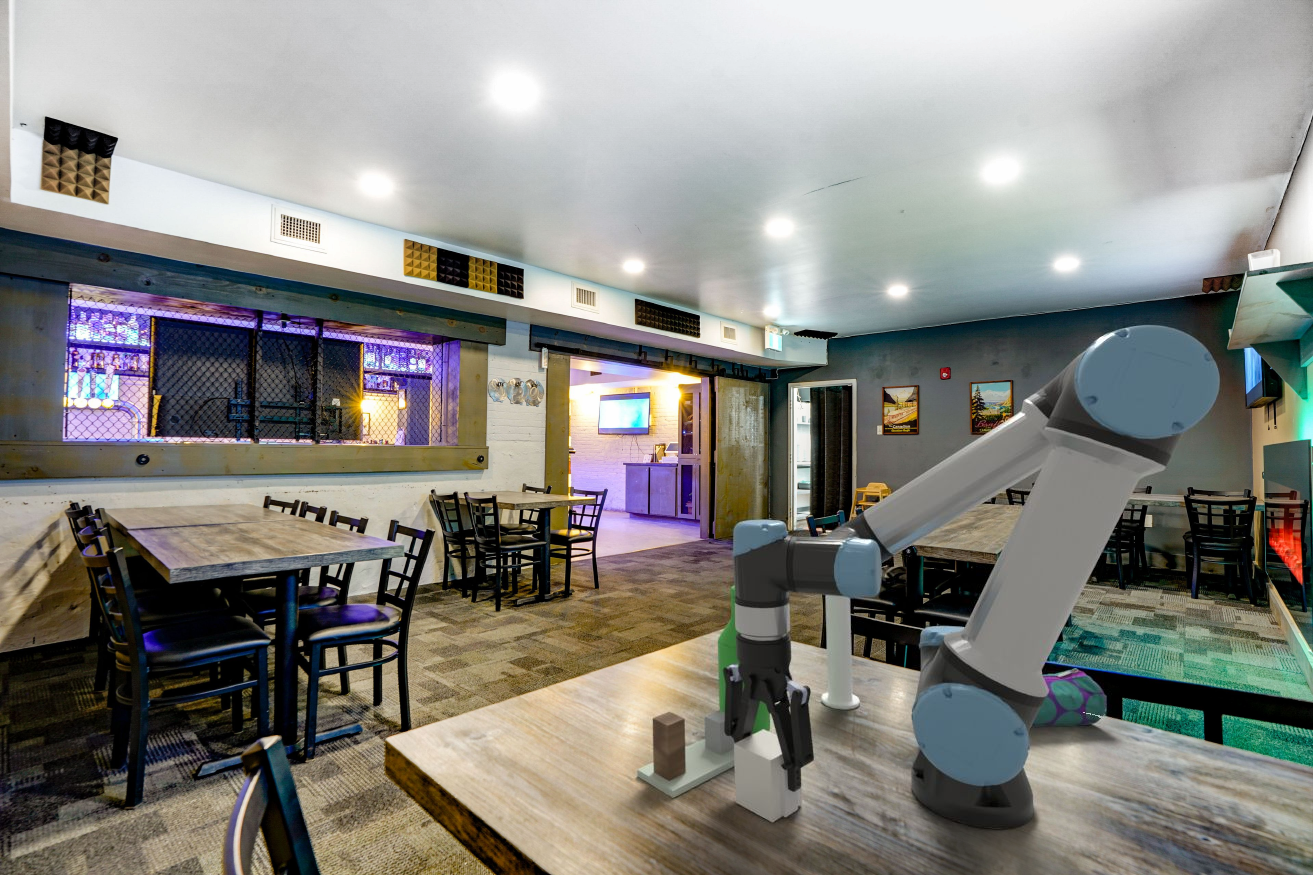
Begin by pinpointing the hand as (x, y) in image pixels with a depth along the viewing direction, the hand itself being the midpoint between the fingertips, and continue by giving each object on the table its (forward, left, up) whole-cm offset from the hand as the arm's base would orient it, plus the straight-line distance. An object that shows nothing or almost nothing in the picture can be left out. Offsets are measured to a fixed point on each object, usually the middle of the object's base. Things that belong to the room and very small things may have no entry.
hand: (768, 800), depth 84 cm
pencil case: (-16, -53, -1) cm, 55 cm away
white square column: (0, 0, 0) cm, 0 cm away
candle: (+12, -37, -1) cm, 39 cm away
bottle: (+17, -15, -1) cm, 23 cm away
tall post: (+14, +6, -1) cm, 15 cm away
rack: (+14, 0, -1) cm, 14 cm away
